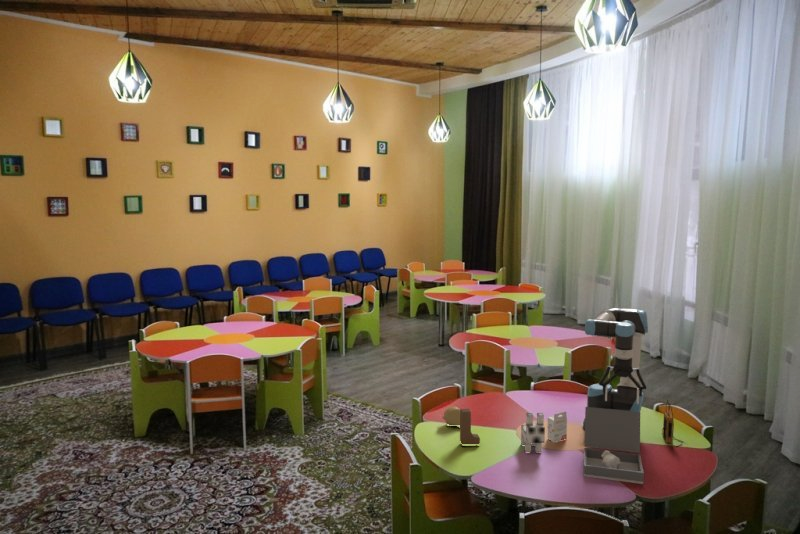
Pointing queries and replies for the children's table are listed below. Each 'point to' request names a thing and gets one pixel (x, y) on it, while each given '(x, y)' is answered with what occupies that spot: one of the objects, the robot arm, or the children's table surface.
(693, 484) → the children's table surface
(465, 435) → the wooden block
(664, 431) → the multimeter
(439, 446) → the children's table surface
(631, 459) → the case
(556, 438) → the ink cartridge box
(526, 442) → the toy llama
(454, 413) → the toy pig
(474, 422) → the children's table surface
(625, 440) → the case lid
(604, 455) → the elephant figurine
